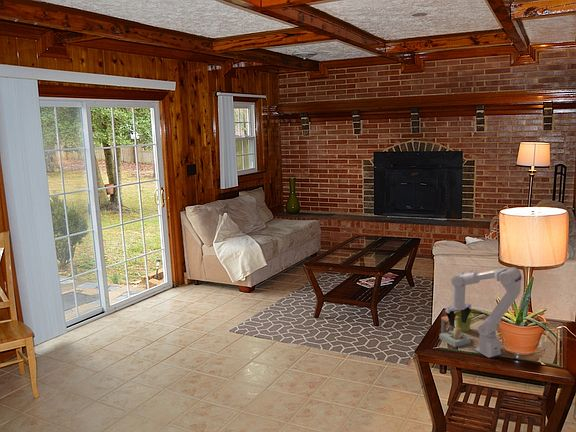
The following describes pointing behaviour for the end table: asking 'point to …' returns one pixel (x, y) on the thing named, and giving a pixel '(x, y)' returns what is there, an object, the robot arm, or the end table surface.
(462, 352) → the end table surface
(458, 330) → the peg
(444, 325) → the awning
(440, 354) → the end table surface
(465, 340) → the socket board
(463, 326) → the plant pot
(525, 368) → the end table surface
